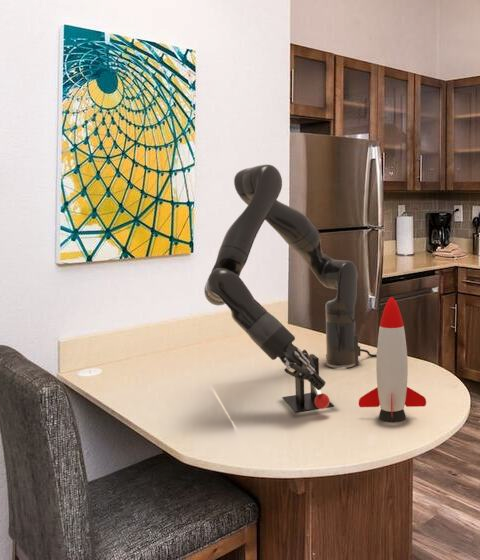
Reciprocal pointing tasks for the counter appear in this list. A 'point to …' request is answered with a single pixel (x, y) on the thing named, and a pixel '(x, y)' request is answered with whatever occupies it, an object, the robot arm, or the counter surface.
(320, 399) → the lever
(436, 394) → the counter surface
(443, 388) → the counter surface
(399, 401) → the toy rocket
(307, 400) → the bracket
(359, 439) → the counter surface
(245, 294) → the robot arm
